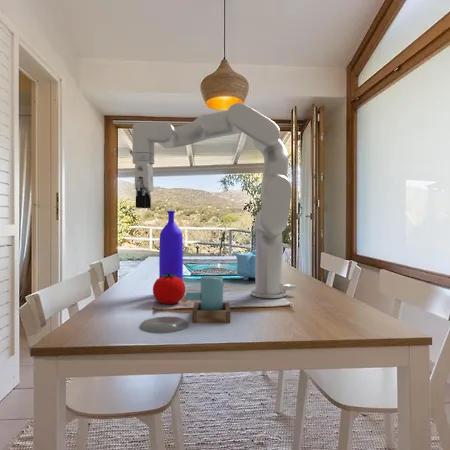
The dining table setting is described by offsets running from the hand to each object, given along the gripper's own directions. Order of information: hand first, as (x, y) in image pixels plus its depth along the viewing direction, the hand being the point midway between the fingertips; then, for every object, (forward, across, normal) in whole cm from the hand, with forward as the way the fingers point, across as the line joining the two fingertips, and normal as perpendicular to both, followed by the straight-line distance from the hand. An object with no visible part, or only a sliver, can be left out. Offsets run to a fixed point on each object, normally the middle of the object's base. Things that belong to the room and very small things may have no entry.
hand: (143, 207), depth 130 cm
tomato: (+31, -12, -11) cm, 35 cm away
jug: (+31, -30, -23) cm, 48 cm away
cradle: (+31, -30, -25) cm, 50 cm away
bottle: (+31, 0, -10) cm, 33 cm away
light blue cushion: (+31, +34, -40) cm, 61 cm away
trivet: (+31, -36, -13) cm, 50 cm away
